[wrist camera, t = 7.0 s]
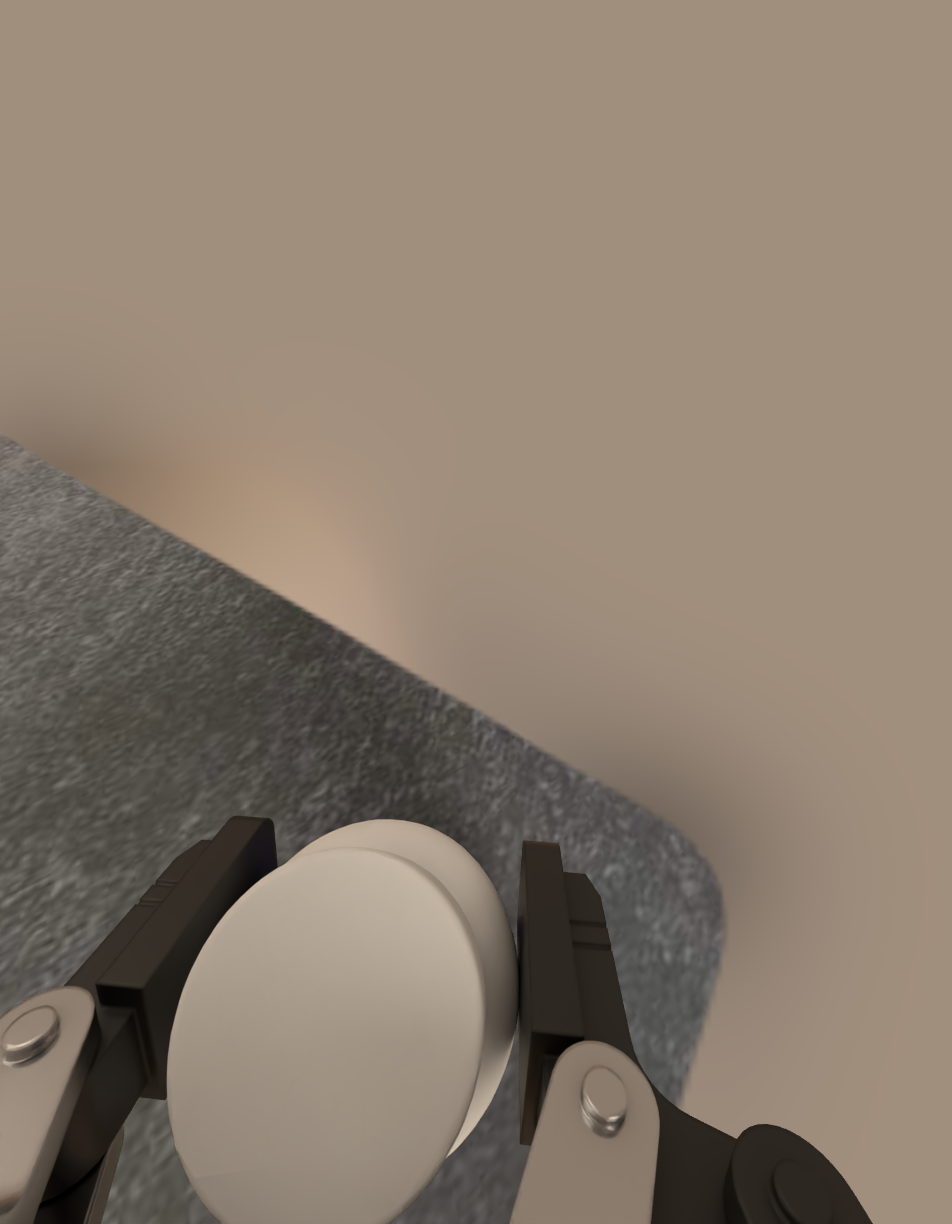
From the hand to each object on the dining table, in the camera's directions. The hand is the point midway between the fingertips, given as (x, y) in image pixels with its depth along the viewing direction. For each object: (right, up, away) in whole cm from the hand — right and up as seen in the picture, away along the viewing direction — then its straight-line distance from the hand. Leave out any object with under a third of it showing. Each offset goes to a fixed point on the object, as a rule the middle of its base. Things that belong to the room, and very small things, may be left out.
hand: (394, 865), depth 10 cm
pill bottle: (0, -4, +4) cm, 6 cm away
